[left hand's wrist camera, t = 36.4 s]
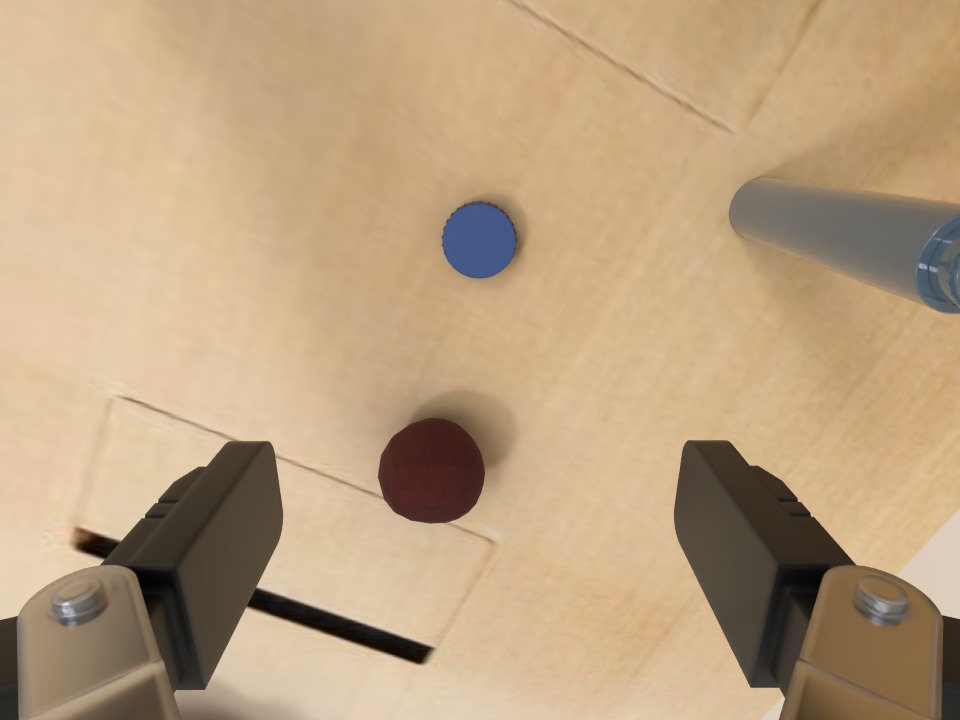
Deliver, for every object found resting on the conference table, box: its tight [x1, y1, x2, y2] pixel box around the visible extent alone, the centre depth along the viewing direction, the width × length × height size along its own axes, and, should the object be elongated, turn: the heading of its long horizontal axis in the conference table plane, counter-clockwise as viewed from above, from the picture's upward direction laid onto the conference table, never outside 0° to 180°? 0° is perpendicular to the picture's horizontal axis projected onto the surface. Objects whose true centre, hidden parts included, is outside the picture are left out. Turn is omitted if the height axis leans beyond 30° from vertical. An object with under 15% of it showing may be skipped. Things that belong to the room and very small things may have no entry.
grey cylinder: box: [729, 177, 960, 314], centre depth 30 cm, size 4×4×20 cm
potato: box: [378, 418, 485, 523], centre depth 42 cm, size 7×8×7 cm
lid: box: [442, 201, 517, 278], centre depth 39 cm, size 5×5×2 cm
